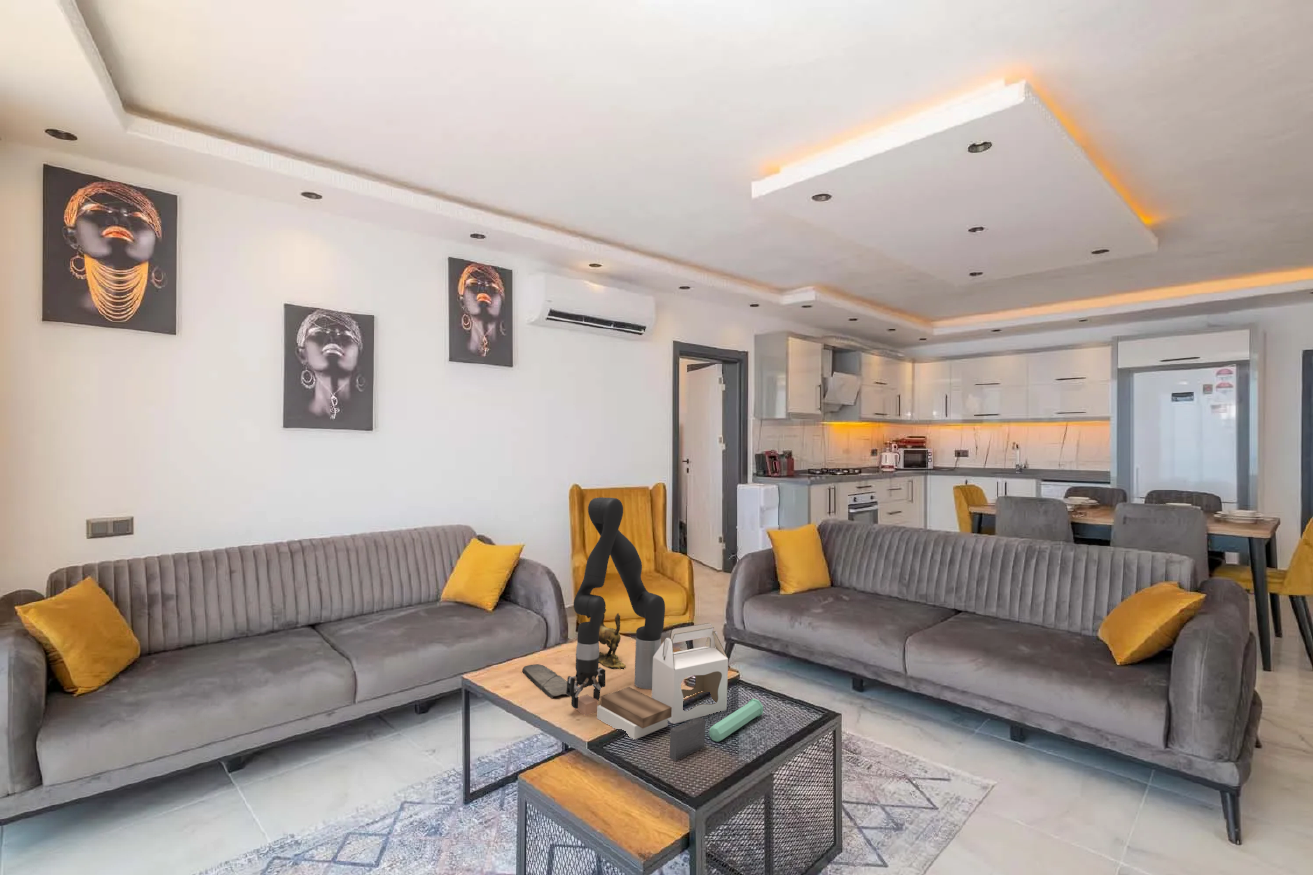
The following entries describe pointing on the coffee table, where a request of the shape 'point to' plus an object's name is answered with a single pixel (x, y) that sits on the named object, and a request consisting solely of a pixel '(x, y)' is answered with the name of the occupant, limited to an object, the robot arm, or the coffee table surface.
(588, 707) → the support block
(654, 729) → the riser
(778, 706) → the coffee table surface
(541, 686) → the stone slab
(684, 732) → the block
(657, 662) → the gable box
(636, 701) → the plank
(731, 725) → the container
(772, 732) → the coffee table surface
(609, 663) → the figurine
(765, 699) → the coffee table surface
